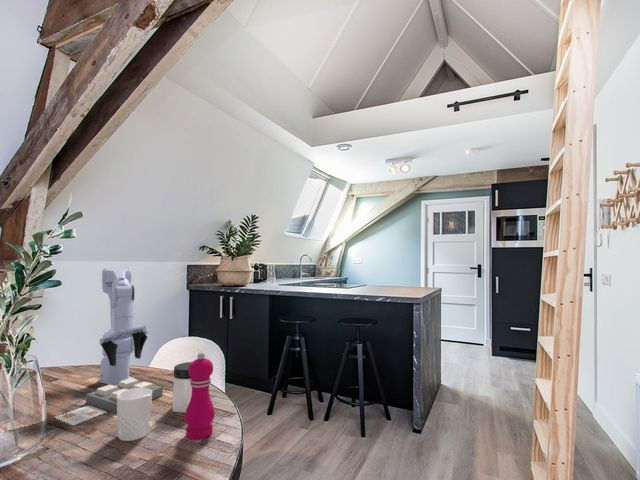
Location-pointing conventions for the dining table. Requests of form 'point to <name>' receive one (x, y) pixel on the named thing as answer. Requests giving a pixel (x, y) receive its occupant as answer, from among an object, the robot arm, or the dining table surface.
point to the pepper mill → (200, 400)
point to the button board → (110, 403)
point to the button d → (143, 385)
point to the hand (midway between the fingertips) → (125, 361)
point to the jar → (181, 387)
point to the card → (80, 415)
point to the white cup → (133, 413)
